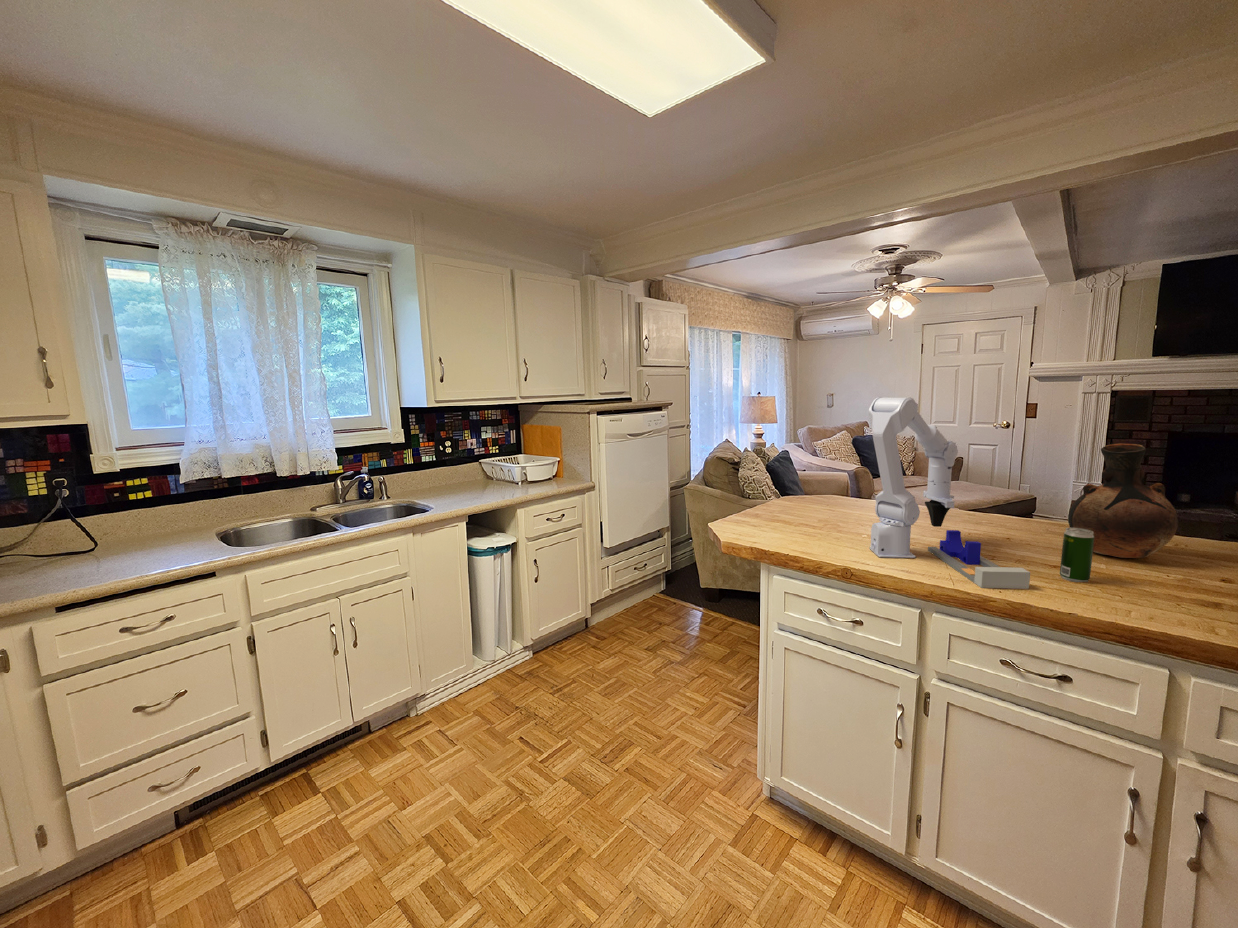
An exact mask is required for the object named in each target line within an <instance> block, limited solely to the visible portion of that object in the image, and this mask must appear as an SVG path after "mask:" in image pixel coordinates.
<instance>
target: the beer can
mask: <svg viewBox="0 0 1238 928" xmlns="http://www.w3.org/2000/svg"><path fill="white" fill-rule="evenodd" d="M1093 533H1094V532H1093V531H1091V530H1088V529H1082V528H1070V527H1066V528H1065V531H1064V532H1063V538H1062V547H1061V548H1062V549H1061V557H1060V568H1059V569H1060V570H1059V576H1060V578H1061V579H1063V580H1065V581H1068V582H1072V583H1073V582H1074V583H1078V582H1086V583H1088V582H1089V581H1090V579H1091V574H1092V564H1093V556H1094V555H1093V554H1094V552H1093V547H1094V538H1095V536H1094V534H1093Z"/></svg>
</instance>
